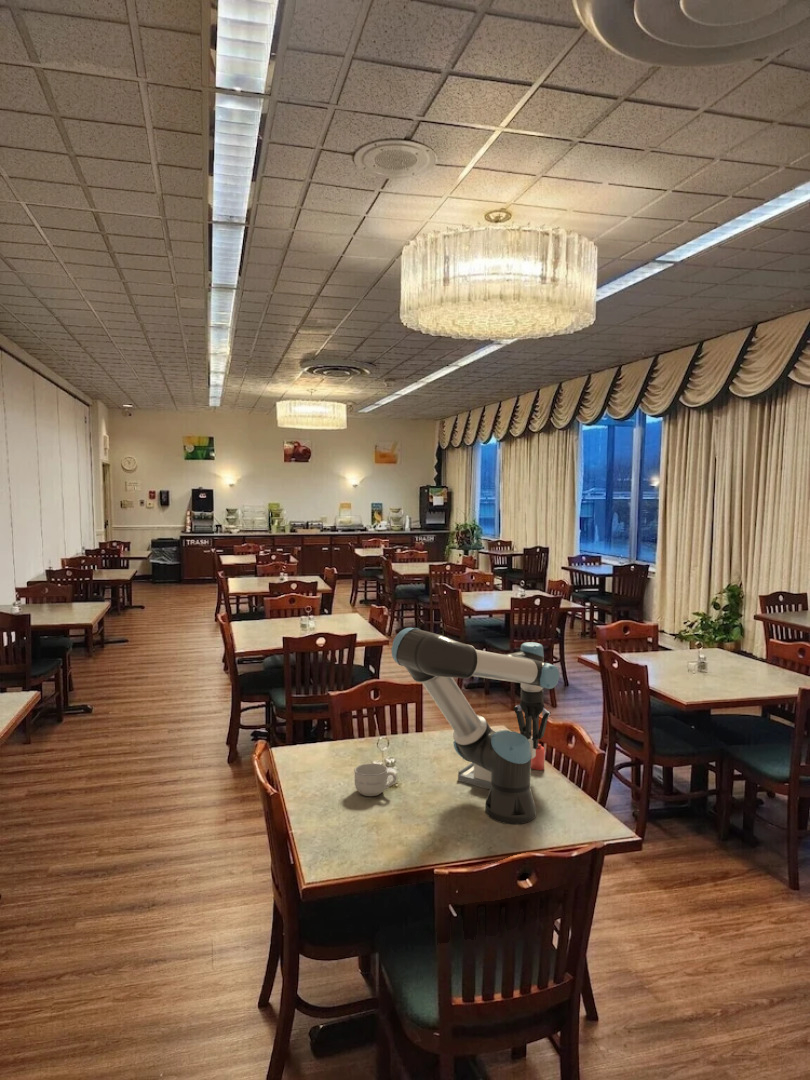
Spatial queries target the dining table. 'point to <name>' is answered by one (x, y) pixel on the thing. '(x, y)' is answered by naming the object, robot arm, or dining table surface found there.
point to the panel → (472, 777)
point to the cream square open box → (482, 773)
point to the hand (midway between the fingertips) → (531, 756)
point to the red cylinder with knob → (538, 758)
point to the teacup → (372, 779)
